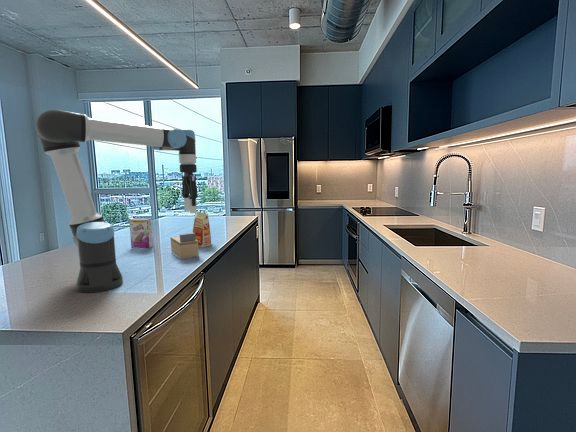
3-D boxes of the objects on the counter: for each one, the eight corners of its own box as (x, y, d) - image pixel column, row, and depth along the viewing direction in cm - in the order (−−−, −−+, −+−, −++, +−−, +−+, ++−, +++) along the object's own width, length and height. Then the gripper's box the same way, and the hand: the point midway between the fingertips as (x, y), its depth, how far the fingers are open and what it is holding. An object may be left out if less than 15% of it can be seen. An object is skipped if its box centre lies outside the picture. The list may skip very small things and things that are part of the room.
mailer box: (180, 259, 158) (179, 245, 158) (171, 252, 173) (170, 239, 172) (198, 256, 163) (198, 242, 162) (188, 249, 178) (187, 237, 177)
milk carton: (191, 246, 187) (189, 212, 184) (200, 243, 195) (198, 210, 193) (205, 247, 184) (203, 212, 182) (213, 244, 193) (212, 210, 190)
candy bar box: (130, 248, 185) (128, 219, 183) (135, 246, 190) (133, 218, 188) (149, 248, 184) (147, 219, 182) (153, 246, 189) (152, 218, 186)
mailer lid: (179, 244, 158) (179, 235, 157) (170, 238, 172) (170, 230, 172) (198, 242, 162) (197, 233, 162) (187, 236, 177) (187, 228, 177)
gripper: (203, 163, 144) (205, 213, 147) (189, 164, 162) (191, 209, 165) (186, 163, 140) (189, 214, 143) (173, 164, 158) (176, 210, 161)
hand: (190, 212), depth 154 cm, fingers open, 9 cm apart
